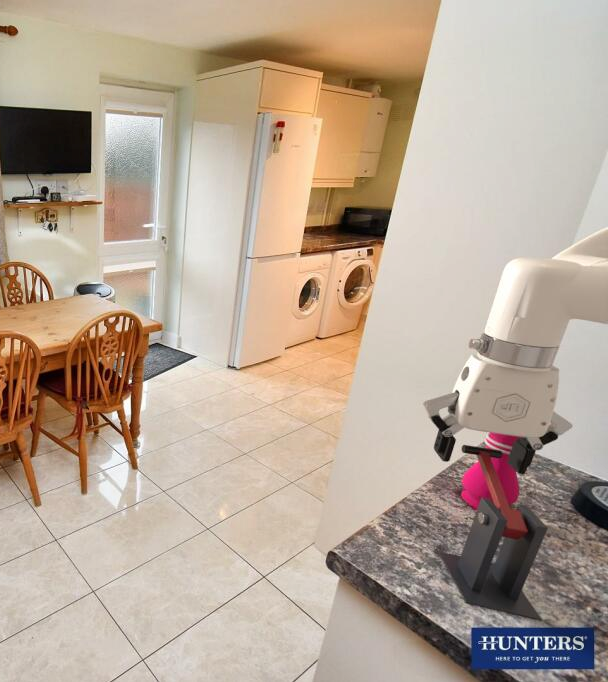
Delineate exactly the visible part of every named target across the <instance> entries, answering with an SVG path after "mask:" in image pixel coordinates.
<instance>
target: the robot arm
mask: <svg viewBox="0 0 608 682" xmlns="http://www.w3.org/2000/svg"><path fill="white" fill-rule="evenodd" d="M571 320H581V321H588V322H594V323H598V324H604V325H608V226H606V227H605V228H602V229H600V230H598V231H596V232H594V233H592V234H590V235H588V236H587V237H584V238H583V239H581V240H579V241H578V242H576V243H574V244H573V245H570V246H569V247H567V248H566V249H563V250H562V251H560V252H559V253H557V254H556V255H554V256H553V257H551V258H545V257H517V258H514V259H511V260H510V261H509V262H508V263H507V264H506V265H505V266H504V268H503V271H502V274H501V277H500V280H499V283H498V287H497V290H496V292H495V296H494V299H493V302H492V305H491V309H490V311H489V315H488V318H487V322H486V325H485V328H484V331H483V333H481V336H480V338H477V339H475V338H471V339H470V340H469V342H468V347H469V349H473V350H476V353H472V354H471V355H470V356H469V358H468V359H467V361H466V363H465V364H464V366H463V368H462V369H461V371H460V373H459V375H458V378H457V380H456V382H455V384H454V386H453V389H452V392H450V393H447V394H445V395H441V396H438V397H435V398H431V399H428V400H425V401H423V404H422V405H423V407H424V410H425V412H426V414H427V416H428V418H429V420H430V421H431V422H432V424H434V425H435V427H436V428H437V429H438V431H437V434H436V437H435V441H434V444H433V450H434V452H435V453H436V454H437V456H438V457H439V459H440V460H441V461H442V462H444V463H445V462H446V463H448V462H450V461H451V458H452V454H453V451H454V448H455V446H456V445H455V444H456V442H457V438H456V437H455V436H454V435H456V434H457V433H458V432H461V431H462V430H464V429H468V430H472V431H477V432H483V433H484V432H485V433H497V434H503V435H511V436H518V437H521V439H516V440H515V441H514V444H513V446H512V449H511V452H510V455H509V457H508V460H507V462H508V464H509V465H510V466H511V467H512V468H513V469H514V470H515V471H516V473H517V474H519V475H525V474H526V472H527V470H528V468H529V467H530V466H531V464H532V462H533V459H534V457H535V454H536V452H537V451H541V450H543V448H544V446H546V445H548V444H551V443H553V442H555V441H557V440H558V438H559V436H562V435H564V434H565V433H566V432H568V431H569V430H570V429H572V428H573V424H572V423H571V422H570V421H569V420H567V419H566V418H564V417H562V416H561V415H560V414H559V413H557V412H555V406H556V402H557V398H558V394H559V393H558V392H559V382H560V369H559V368H558V367H556V366H554V363H555V360H556V357H557V354H558V352H559V348H560V346H561V344H562V341H563V339H564V336H565V333H566V331H567V328H568V326H569V323H570V321H571ZM446 408H447V412H448V414H447V415H446V416H444V417H443V418H442V417H441V415H440V410H442V409H446Z"/></svg>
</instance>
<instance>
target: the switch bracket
mask: <svg viewBox="0 0 608 682" xmlns="http://www.w3.org/2000/svg"><path fill="white" fill-rule="evenodd" d="M515 510H517V511H520V513H521V515H522V518H523V520H524V523H525V525H526V528H527V530H528V532H527V533H526V534H525V535H523V536H522V537H521V538H520V539H519V540H516V539H511V538H506V537H504V539H503V541H502V544H501V547H500V549H499V552H498V555H497V557H496V560H495V561H494V562H493V560H494V558H495V555H496V553H497V550H498V547H499V544H500V543H501V539H502V538H503V537H502V534H503V532H504V529H505V527H506V524H507V521H508V520H507V519H506V518H505V517H504V515H503V514H502V513H501V512H500V510H499V509H498V508H497V507H496V506H495V504H494V503H493V502H492V501H491V499H488V498H481V500H480V503H479V506H478V509H477V511H476V512H475V515H474V517H473V520H472V523H471V525H470V528H469V531H468V533H467V534H468V535H467V537H466V540H465V543H464V546H463V548H462V551H461V555H458V554H453V553H447V552H443V551H439V550H438V551H437V554H438V556H439V558H440V559H441V561H442V563H443V564H444V566H445V568H446V570H447V572H448V574H449V576H450V577H451V579H452V582H453V583H454V585H455V587H456V589H457V590H458V593H459V594H460V596H461V598H462V600H463V602H464V603H465V604H467V605H471V606H476V607H480V608H485V609H488V610H493V611H497V612H502V613H505V614H509V615H515V616H519V617H523V618H526V619H527V618H528V619H532V620H535V621H540V622H542V621H543V619H542V617H541V616H540V615H539V613H538V612H537V610H536V609H535V607H534V605H533V604H532V603H531V601H530V600H529V599H528V597H527V596H526V594H525V593H524V592H523V588H524V586H525V584H526V581H527V578H528V576H529V574H530V572H531V569H532V567H533V564H534V562H535V559H536V558H537V555H538V552H539V550H540V548H541V545H542V543H543V541H544V539H545V536H546V534H547V532H548V527H547V525H546V524H545V523H544V522H543V521H542V519H540V518H539V517H538V516H537V514H536V513H535V512H534V511H533V510H532V509H531V508H530V506H529V505H526V504H521V503H517V506H516V509H515Z"/></svg>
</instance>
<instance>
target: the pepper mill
mask: <svg viewBox="0 0 608 682" xmlns="http://www.w3.org/2000/svg"><path fill="white" fill-rule="evenodd" d="M516 439H521V437H518V436H511V435H503V434H497V433H490V432H487V434H486V435H485V439H484V443H485V445H486V447H485V448H489V449H495V450H501V451H502V454H503V455H502V458H500V459H499V458H492V457H490V458H491V460H492V463H493V465H494V468H495V471H496V473H497V476H498V478H499V481H500V483H501V486H502V489H503V491H504V494H505V496H506V499H507V501H508V504H509V506H511V505H513V504H515V503H516V502H517V501H518V499H519V496H520V484H519V479H518V475H517V474H518V473H517V472H516V471H515V470H514V469H513V468H512V467H511V466H510V465H509V464H508V462H507V460H508V457H509V455H510V452H511V449H512V446H513V444H514V441H515V440H516ZM461 484H462V486H463V488H464V490H462V491H461V493H460V494H461V498H462V499H463V500H464V501H465V502H466V503H467V506H468V507H470V509H473V510H475V511H476V512H477V509H478V506H479V503H480V500H481V498H488V499H491V501H492V502H493V503H494V501H493V499H492V496H491V493H490V491H489V488H488V485H487V482H486V480H485V477H484V474H483V471H482V469H481V466H480V463H479V460H478V461H477V462H476V463H475V464H473V465H472V466H471V467H469V468H468V469H467V470H466V471H465V473H464V475H463V477H462V480H461Z"/></svg>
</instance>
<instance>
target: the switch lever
mask: <svg viewBox="0 0 608 682" xmlns="http://www.w3.org/2000/svg"><path fill="white" fill-rule="evenodd" d="M461 452H462V453H463V454H468V455H474V456H476V458H477V459H478V461H479V463H480V466H481V469H482V471H483V474H484V477H485V480H486V482H487V485H488V488H489V491H490V493H491V496H492V499H493V501H494V504H495V506H496V507H497V508H498V509H499V510H500V512H501V513H502V514H503V515H504V517H505V518H506V519H507V520H508V521H507V524H506V527H505V529H504V532H503V534H502V537H501V538H505V537H506V538H511V539H516V540H519V539H520V538H521V537H522V536H523V535H525V534H526V533H527V532H528V530H527V528H526V525H525V523H524V520H523V518H522V515H521V513H520V511H517V510H516V509H511V507H510V505H509V504H508V501H507V499H506V496H505V494H504V491H503V489H502V486H501V483H500V481H499V478H498V476H497V473H496V471H495V468H494V465H493V463H492V460H491V458H490V457H492V458H499V459H500V458H502V455H503V454H502V451H501V450H495V449H489V448H486V447H481V446H474V445H469V444H463V445H461Z"/></svg>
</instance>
